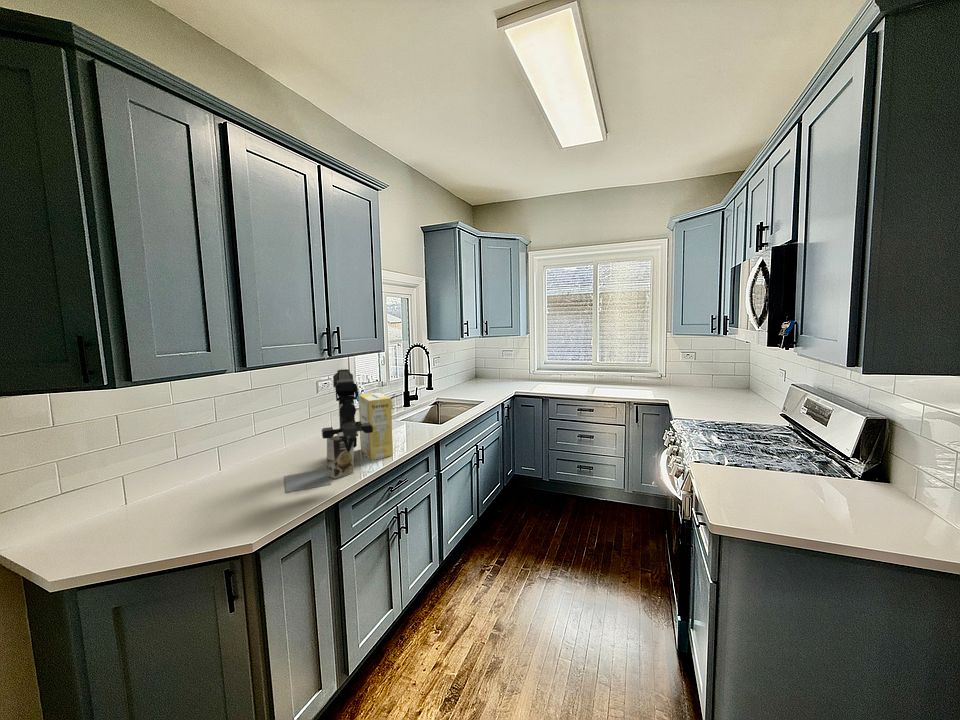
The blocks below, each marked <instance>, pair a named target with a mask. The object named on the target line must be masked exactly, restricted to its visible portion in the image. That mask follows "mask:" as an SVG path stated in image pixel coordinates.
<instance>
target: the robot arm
mask: <svg viewBox="0 0 960 720" xmlns="http://www.w3.org/2000/svg"><path fill="white" fill-rule="evenodd" d="M332 381H333V382H332V383H333V388H335V389H334V390H335V401H336V402H338V417H339V419H338V420H339V428H335V429H334V427H333V426H331V427H323V428H322V429H321V436H322V439H327V438H332V437H334V436H335V435H336V436H338V438H342V440H343V442H344V444H345V447H346V449H347V452H350V449H351V446H352V443H353V440H354V449H355V448H356V447H357V439H358V438H357V437H359V434H358V433H359V432H360V431H363V432H364V433H372V432H373V426H372V425H371V424H370V423H363V424H361V421H360V420H358V421H356V418H355V416H356V413H357V408H356V406H355V401H356V400H358V398H359V389H358V388H359V387H358V385H357V383H355V381H354V374H352V373H351V372H350V369H347V368H345V369H343V368H342V369H337V371H336V373H335V374H334V375H333V376H332ZM347 436H348V437H349V438H348V442H347ZM355 461H356V460H355V459H354V462H355Z"/></svg>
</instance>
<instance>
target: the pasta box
mask: <svg viewBox="0 0 960 720" xmlns="http://www.w3.org/2000/svg"><path fill="white" fill-rule="evenodd" d="M392 413H393V412H392V398H391V397H389V396H387V395H385V394H383V393H381V392H374V393H372V392H371V393H363V394H358V416H359V418H358V419H359V420H358V421H361V424H363V423H370V424H371V425H372V426H373V432H372V433H364V432H363V431H359V436H360V437H359V443H360V451H361V452H363V454H365V455H366V457H367V458H369V459H370V460H371V461H373V460H376V459H383V458H388V456H389V457H393V456H394V451H393V449H394V448H393V447H394V446H393V422H392V419H393V418H392V415H393V414H392Z"/></svg>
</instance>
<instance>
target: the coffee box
mask: <svg viewBox="0 0 960 720" xmlns="http://www.w3.org/2000/svg"><path fill="white" fill-rule="evenodd" d="M348 438H349V437H348V436H347V442H348ZM354 450H355V448H354V440H353V443H352V446H351V449H350V452H347V449H346V447H345V444H344V442H343V440H342V438H338V436H337V435H334V436H333V437H332V438H326V472H327V475H328V477H330V478H332V479H335V480H336V479H339V478H342V477H345V476H348V475H351V474H354V470H355V468H354V466H355V463H354V462H355V461H354V460H355V458H354V457H355V454H354V452H355V451H354Z"/></svg>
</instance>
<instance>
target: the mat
mask: <svg viewBox="0 0 960 720" xmlns="http://www.w3.org/2000/svg"><path fill="white" fill-rule="evenodd" d="M329 477H330V476H328V475H327V468H326V469H325V468H324V469H319V470H311V471H305V472H300V473H295V474H289V475H288V474H287V475H284V485H285V487H284V488H285V493H286V494H287V493H292V492H298V491H303V490H309V489H314V488H319V487H325V486H330V485H332V482H331V480H330V478H329Z"/></svg>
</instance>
